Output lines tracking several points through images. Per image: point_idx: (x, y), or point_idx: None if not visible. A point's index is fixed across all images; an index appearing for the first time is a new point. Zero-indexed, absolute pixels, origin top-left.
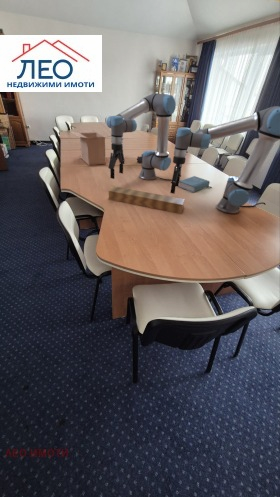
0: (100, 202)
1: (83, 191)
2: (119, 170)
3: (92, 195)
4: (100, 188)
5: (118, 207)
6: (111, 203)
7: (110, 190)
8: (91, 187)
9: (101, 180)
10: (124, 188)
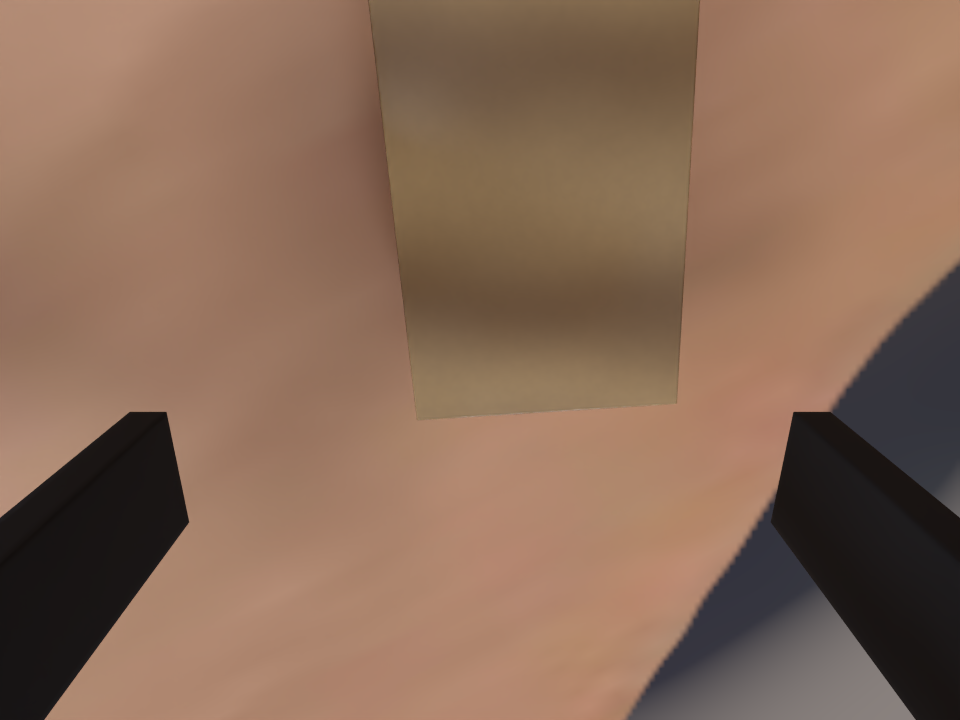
0: (784, 392)
1: (548, 707)
2: (145, 572)
3: (611, 578)
4: (344, 606)
5: (873, 59)
6: (762, 238)
7: (649, 381)
8: (383, 699)
9: (89, 716)
10: (407, 182)
